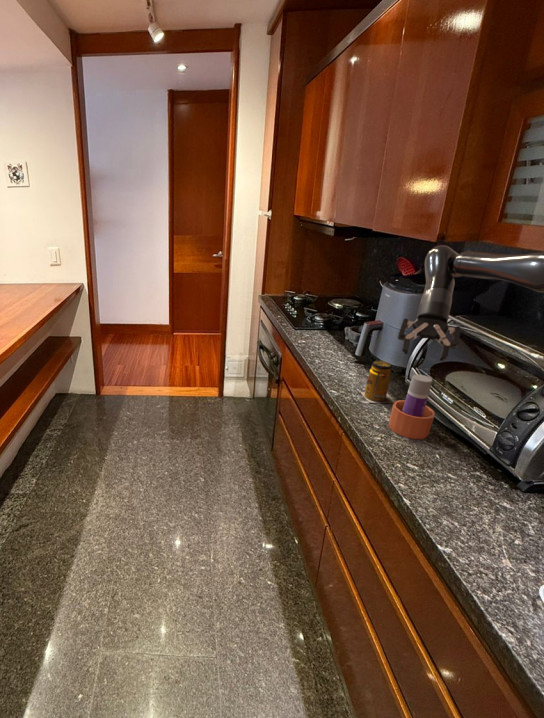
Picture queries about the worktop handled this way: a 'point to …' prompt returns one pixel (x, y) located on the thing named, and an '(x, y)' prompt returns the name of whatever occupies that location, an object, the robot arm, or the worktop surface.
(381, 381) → the condiment
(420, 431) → the holder
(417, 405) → the container
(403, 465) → the worktop surface
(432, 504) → the worktop surface
